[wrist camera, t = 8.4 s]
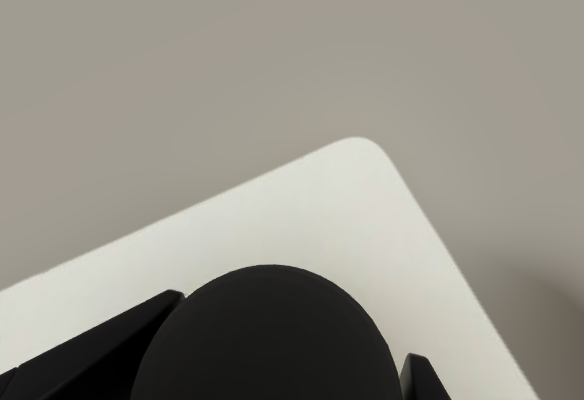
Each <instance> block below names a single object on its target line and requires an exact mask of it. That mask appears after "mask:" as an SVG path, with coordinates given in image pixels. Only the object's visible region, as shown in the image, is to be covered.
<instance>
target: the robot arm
mask: <svg viewBox="0 0 584 400" xmlns="http://www.w3.org/2000/svg"><path fill="white" fill-rule="evenodd" d="M184 299H185V296H184V294H183V293H182V292H179V291H176V290H171V289H170V290H166V291H164V292H162V293H160V294H158V295H156V296H155V297H153V298H151V299H149V300H147V301H145V302H143V303H141V304H139V305H137V306H135V307H133V308H131V309H129V310H127V311H125V312H123V313H121V314H119V315H117V316H115V317H113V318H111V319H109V320H107V321H105V322H103V323H101V324H99V325H98V326H96V327H94V328H92V329H90V330H88V331H86V332H84V333H82V334H80V335H78V336H76V337H74V338H72V339H70V340H68V341H66V342H64V343H62V344H60V345H58V346H56V347H54V348H52V349H50V350H48V351H46V352H44V353H42V354H41V355H39V356H37V357H35V358H33V359H31V360H29V361H27V362H25V363H23V364H21V365H19V367H18V368H17V367H15V368H13V369H11V370H9V371H7V372H5V373H3V374H1V375H0V400H130V396H131V391H132V388H133V385H134V382H135V378H136V375H137V372H138V369H139V366H140V363H141V360H142V358H143V356H144V354H145V353H146V351H147V349H148V347H149V345H150V343H151V341H152V339H153V338H154V336H155V334H156V333H157V331H158V330H159V328H160V326H161V325H162V324H163V322H164V321H165V320H166V319H167V317H168V316H169V315H170V314H171V312H172V311H173V310H174V309H175V308H176V307H177V306H178V305H179V304H180V303H181V302H182V301H183V300H184ZM399 380H400V385H401V389H402V395H403V400H451V398H450V397H449V395H448V393H447V392H446V390H445V388H444V386H443V385H442V383H441V381H440V379H439V378H438V376H437V374H436V372H435V371H434V369H433V367H432V365H431V364H430V362H429V360H428V359H427V358H426V357H424V356H420V355H417V354H413V353H409V354H408V355H407V357H406V360H405V363H404V365H403V368H402V371H401V374H400V379H399Z"/></svg>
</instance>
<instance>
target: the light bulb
mask: <svg viewBox="0 0 584 400" xmlns="http://www.w3.org/2000/svg"><path fill="white" fill-rule="evenodd" d="M130 400H403V395H402V389H401V385H400V380H399V376H398V372H397V369H396V366H395V363H394V361H393V358H392V355H391V352H390V350H389V347H388V344H387V343H386V341H385V340H384V338H383V336H382V335H381V333H380V331H379V330H378V328H377V326H376V325H375V323H374V322H373V320H372V318H371V317H370V316H369V315H368V314H367V312H366V311H365V310H364V309H363V308H362V306H361V305H360V304H359V303H358V302H357V301H356V300H354V299H353V298H352V297H351V296H350V295H349V294H348V293H347V292H345V291H344V290H343V289H341V288H340V287H339V286H337V285H336V284H335V283H333V282H331V281H329V280H327V279H325V278H324V277H322V276H320V275H317V274H315V273H312V272H310V271H307V270H304V269H300V268H296V267H292V266H285V265H275V264H274V265H256V266H250V267H245V268H241V269H238V270H235V271H232V272H229V273H227V274H225V275H222V276H220V277H218V278H216V279H214V280H212V281H210V282H208V283H207V284H205V285H203V286H202V287H200V288H199V289H197V290H196V291H194V292H193V293H192V294H191V295H189V296H188V297H187V298H185V299H184V300H183V301H182V302H181V303H180V304H179V305H178V306H177V307H176V308H175V309H174V310H173V311H172V312H171V314H170V315H169V316H168V317H167V319H166V320H165V321H164V322H163V324H162V325H161V326H160V328H159V330H158V331H157V333H156V334H155V336H154V338H153V339H152V341H151V343H150V345H149V347H148V349H147V351H146V353H145V354H144V356H143V358H142V360H141V363H140V366H139V369H138V372H137V375H136V378H135V382H134V385H133V388H132V391H131V396H130Z"/></svg>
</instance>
